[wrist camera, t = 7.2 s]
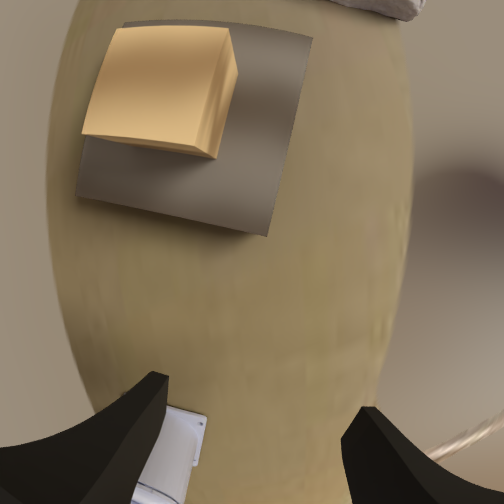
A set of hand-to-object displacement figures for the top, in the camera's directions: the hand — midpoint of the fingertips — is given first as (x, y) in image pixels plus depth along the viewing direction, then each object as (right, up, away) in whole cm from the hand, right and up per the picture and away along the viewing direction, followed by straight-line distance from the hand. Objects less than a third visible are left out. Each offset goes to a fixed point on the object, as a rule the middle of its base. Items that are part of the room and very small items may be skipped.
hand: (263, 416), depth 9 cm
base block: (-4, +14, +7) cm, 17 cm away
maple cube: (-4, +14, +5) cm, 15 cm away
